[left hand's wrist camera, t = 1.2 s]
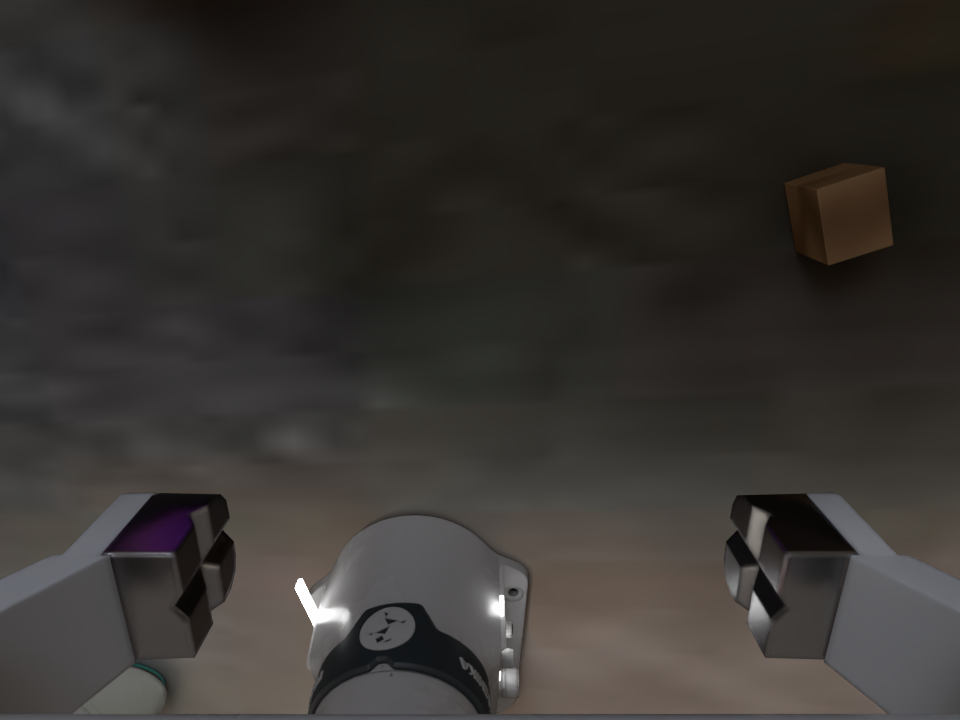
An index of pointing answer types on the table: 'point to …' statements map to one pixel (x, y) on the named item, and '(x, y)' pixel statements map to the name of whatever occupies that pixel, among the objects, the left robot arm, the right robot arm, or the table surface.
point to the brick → (840, 212)
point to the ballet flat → (129, 694)
